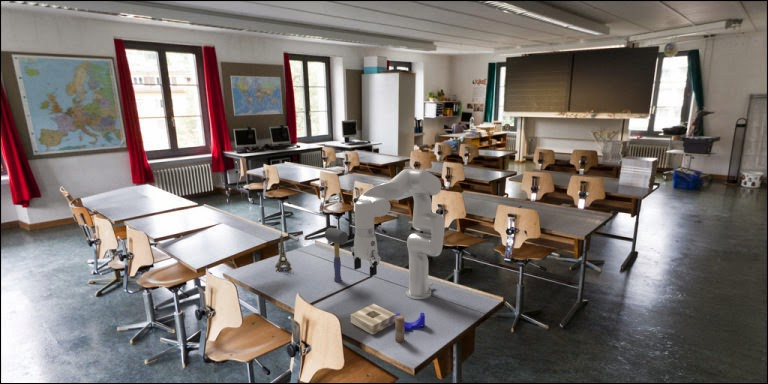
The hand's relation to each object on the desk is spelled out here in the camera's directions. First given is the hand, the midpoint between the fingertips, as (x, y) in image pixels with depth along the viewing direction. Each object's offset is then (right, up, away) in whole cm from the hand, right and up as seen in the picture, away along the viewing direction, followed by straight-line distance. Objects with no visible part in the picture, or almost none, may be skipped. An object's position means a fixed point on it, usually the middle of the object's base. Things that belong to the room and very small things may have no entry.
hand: (365, 271), depth 169 cm
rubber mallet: (-17, -17, +57) cm, 62 cm away
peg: (+14, -28, +1) cm, 31 cm away
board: (+3, -25, +14) cm, 29 cm away
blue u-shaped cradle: (+19, -26, +10) cm, 34 cm away
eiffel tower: (-51, -13, +75) cm, 92 cm away
